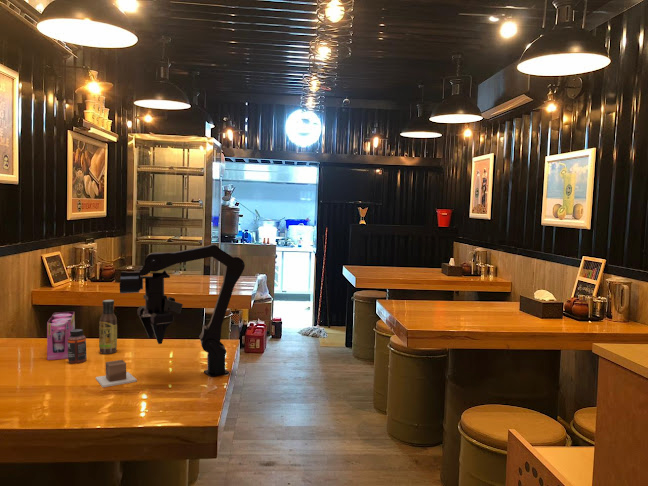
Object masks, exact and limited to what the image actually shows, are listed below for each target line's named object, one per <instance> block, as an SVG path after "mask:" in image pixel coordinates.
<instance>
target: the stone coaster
mask: <svg viewBox="0 0 648 486" xmlns="http://www.w3.org/2000/svg"><path fill="white" fill-rule="evenodd" d="M95 380H96V382H98V384H99V385H100V386H101V387H102V388H106V387H108V388H109V387H112V386H119V385H124V384H130V383H135V382H138V379H137V378H136V377H135V376H133V375H132V373H130V372H129V371H126V379H124V380H118V381H112V382H109V381H108V380H107V379H106V375H100V376H96V377H95Z"/></svg>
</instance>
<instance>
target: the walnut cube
mask: <svg viewBox="0 0 648 486" xmlns="http://www.w3.org/2000/svg"><path fill="white" fill-rule="evenodd" d="M126 372H127V363H126V362H125V361H124V359H119V360H111V361H105V376H106V379H107V380H108V381H109V382H112V381H118V380H124V379H126Z"/></svg>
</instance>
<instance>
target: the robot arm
mask: <svg viewBox="0 0 648 486" xmlns="http://www.w3.org/2000/svg"><path fill="white" fill-rule="evenodd" d="M208 258H213V259H215V260H216V261H217V262H219V263H221V264H222V265H224V269H223V279H222V284H221V287H220V290H219V293H218V296H217V299H216V302H215V305H214V309H213V312H212V313H211V314H212V315H211V318H210V321H209V323H208V324H207V325H205V324H203V325H202V328H201V329H202V330H201V333H200V334H199V339H200V340H199V341H200V344H201V347H202V348H201V349H202V350H203V351H204V352H205V353H207V357H206V358H207V369H205V370H203V373H204V374H206V375H207V376H209V377H210V378H211V377H212V378H213V377H218V376H223V375H228V374H230V371H228V370H227V369H226V354H227V349H226V347H225V345H224V344H223V343H222V342H221V338H222V326H223V323H224V320H225V316H226V313H227V311H228V307H229V305H230V301H231V297H232V295H233V292H234V288H235V286H236V284H237V283H238V281H239V279H240V277H241V275H242V274H243V272H244V270H245V266H246V265H245V262H244V260H243V259H242V258H241V257H239V256H237V255H230V253H229V254H228V252H226V251H224V250H223V249H221V248H220V247H219V246H218V245H216V244H213V243H211V244H209V245H205V246H199V247H195V248H189V249H183V250H178V251H155V252H150V253H148V254H147V255H146V257H145V259H144V265H143V266H142V267H141V268H140V269H139V271H125V270H124V271H121V272H120V278H119V280H120V282H119V293H120V294H140V291H141V290H143V289H144V291H145V293H144V294H143V299H144V300H145V301H144V302H145V305H141V306H140V305H139V307H138V308H136V309H137V311H136V312H137V316H138V318H139V319H140V321H141V324H142V325H143V328H144V330H145V332H146V334H147V337H148V338H149V339H153V338H154V336H155V340H156V342H157V344H158V345H162V344H163V341H164V338H165V334H166V330H167V328H168V326H170V325H172V324H173V323H174V322H175V315H174V313H172V312H175V313H176V314H181V311H182V309H183V305H184V304H183V303H181V302H177V301H176V299H175V297H171V296H167V295H166V294H165V279H170V278H171V275H170V274H169V273H168V272H167V270H166V269H167V268H169V267H172V266H174V265H177V264H181V263H186V262H192V261H197V260H202V259H208ZM162 270H163V271H162ZM160 271H161V272H160ZM151 272H152V275H149V274H150V273H151ZM144 283H145V285H144ZM144 286H145V287H144ZM170 311H171V312H170Z"/></svg>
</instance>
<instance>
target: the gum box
mask: <svg viewBox="0 0 648 486" xmlns="http://www.w3.org/2000/svg"><path fill="white" fill-rule="evenodd" d="M75 319H76V317H75V311H62V312H61V311H59V312H53V313H52V315H51V317H50V318H49V319H48V321H47V323H46V338H47V339H46V344H47V345H46V360H47V361H50V360H51V361H52V360H65V359H68V337H70V335H71V334H70V331H71V330H75V329H76V324H75V323H76V321H75Z"/></svg>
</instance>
